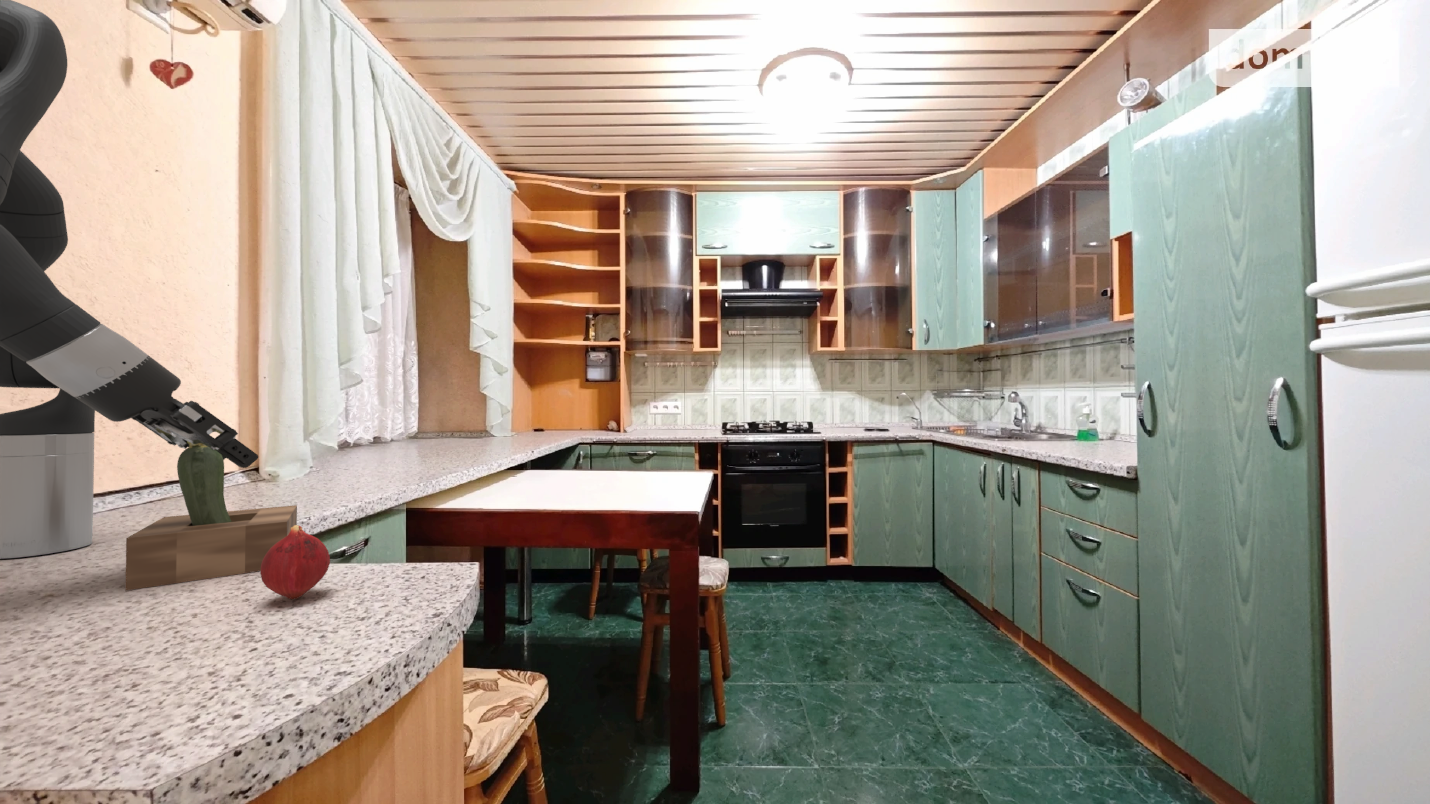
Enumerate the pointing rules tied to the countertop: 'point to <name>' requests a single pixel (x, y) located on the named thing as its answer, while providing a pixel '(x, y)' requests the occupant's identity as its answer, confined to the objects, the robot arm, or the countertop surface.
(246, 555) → the socket block
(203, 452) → the vegetable
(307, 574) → the onion
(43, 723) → the countertop surface
